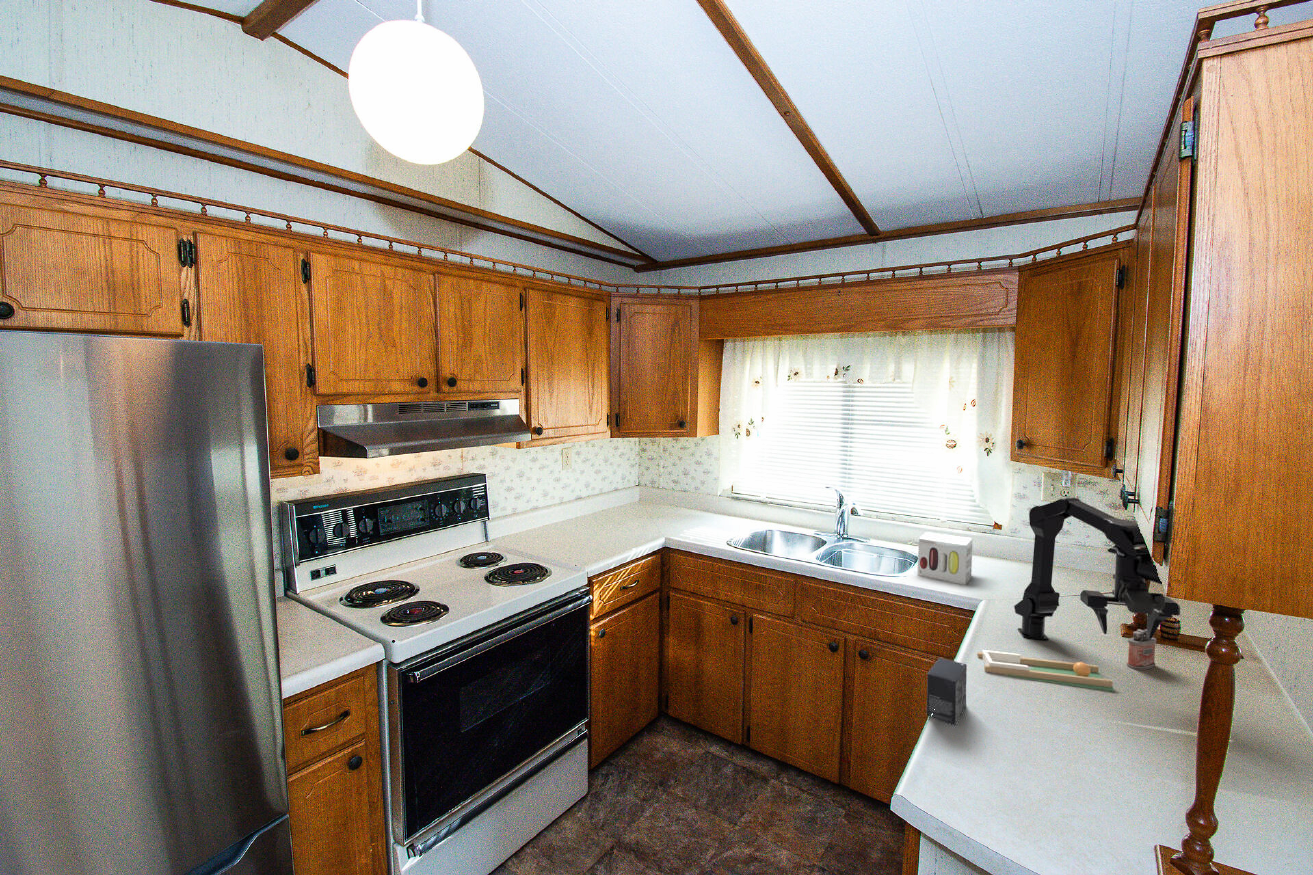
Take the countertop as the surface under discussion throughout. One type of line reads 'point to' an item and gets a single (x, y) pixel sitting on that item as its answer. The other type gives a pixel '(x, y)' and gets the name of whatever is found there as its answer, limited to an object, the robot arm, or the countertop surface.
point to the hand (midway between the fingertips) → (1126, 635)
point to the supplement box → (945, 557)
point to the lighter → (1141, 651)
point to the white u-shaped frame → (1003, 660)
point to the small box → (946, 690)
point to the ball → (1081, 669)
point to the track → (1055, 673)
